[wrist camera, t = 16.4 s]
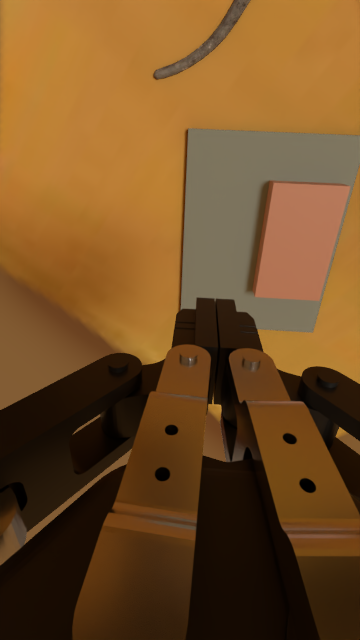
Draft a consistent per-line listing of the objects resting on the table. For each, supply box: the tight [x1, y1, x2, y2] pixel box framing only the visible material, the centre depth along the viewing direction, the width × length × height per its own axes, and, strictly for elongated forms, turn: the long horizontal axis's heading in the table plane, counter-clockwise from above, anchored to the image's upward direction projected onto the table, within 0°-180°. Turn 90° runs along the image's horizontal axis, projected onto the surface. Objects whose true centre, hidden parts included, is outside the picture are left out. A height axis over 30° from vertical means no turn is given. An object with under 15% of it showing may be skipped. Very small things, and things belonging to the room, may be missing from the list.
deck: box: [252, 180, 351, 301], centre depth 29 cm, size 10×2×6 cm
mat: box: [181, 129, 360, 332], centre depth 30 cm, size 18×14×1 cm
